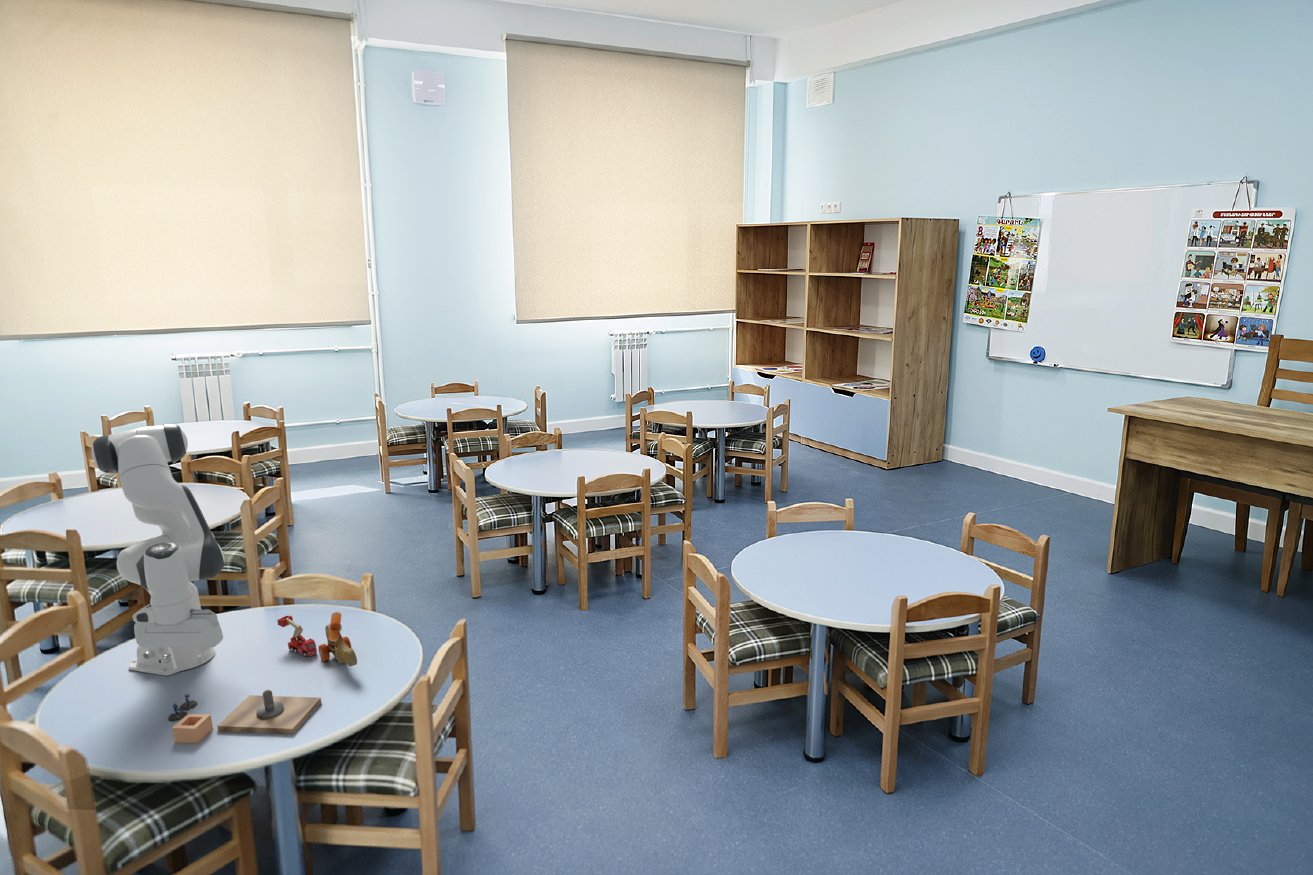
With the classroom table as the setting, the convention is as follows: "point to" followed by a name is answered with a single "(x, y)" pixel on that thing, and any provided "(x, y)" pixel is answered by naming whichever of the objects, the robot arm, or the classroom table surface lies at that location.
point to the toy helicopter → (337, 643)
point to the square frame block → (192, 728)
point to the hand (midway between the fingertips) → (184, 661)
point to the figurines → (184, 706)
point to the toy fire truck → (298, 638)
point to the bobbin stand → (270, 714)
